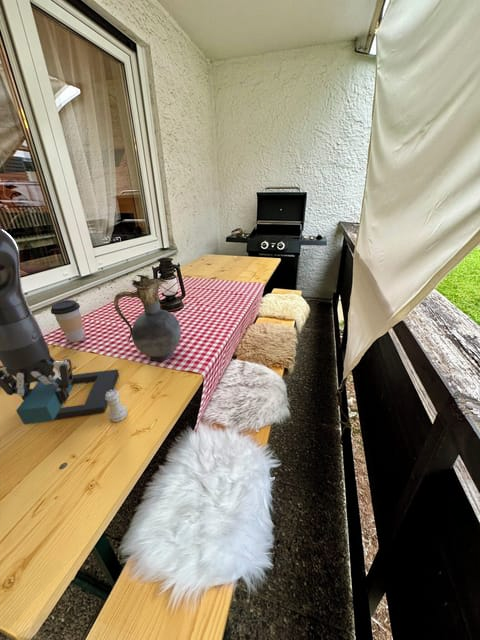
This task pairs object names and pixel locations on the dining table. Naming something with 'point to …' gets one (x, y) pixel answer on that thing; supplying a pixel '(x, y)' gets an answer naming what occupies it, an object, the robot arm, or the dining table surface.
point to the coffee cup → (69, 319)
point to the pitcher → (151, 321)
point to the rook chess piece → (115, 406)
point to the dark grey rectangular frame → (91, 394)
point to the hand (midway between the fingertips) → (49, 402)
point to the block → (40, 404)
